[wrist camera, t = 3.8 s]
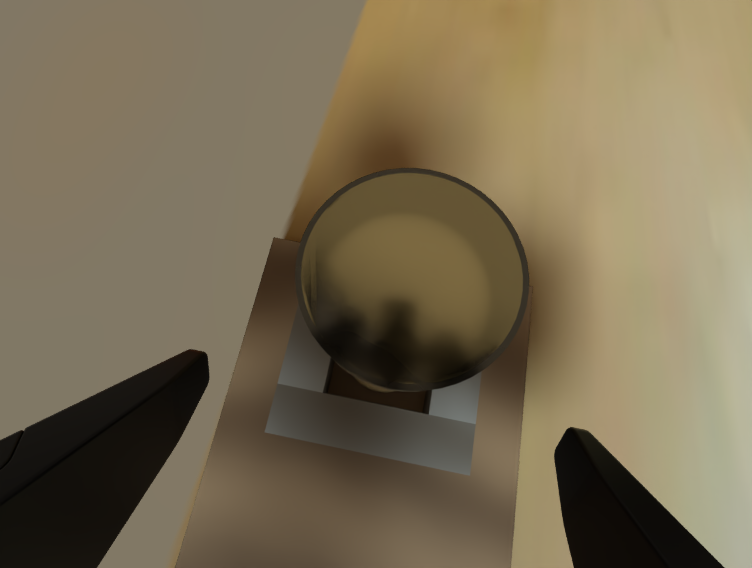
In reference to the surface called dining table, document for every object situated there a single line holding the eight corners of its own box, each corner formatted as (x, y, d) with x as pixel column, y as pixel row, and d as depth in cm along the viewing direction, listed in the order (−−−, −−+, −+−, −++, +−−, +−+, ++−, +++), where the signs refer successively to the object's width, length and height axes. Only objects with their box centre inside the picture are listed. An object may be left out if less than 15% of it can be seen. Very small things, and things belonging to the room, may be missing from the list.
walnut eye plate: (485, 766, 15) (512, 854, 12) (148, 684, 16) (98, 750, 13) (525, 291, 21) (550, 274, 18) (278, 244, 21) (263, 220, 18)
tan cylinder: (416, 402, 18) (519, 414, 5) (337, 386, 18) (266, 363, 6) (428, 323, 19) (537, 189, 7) (354, 309, 19) (325, 151, 7)
